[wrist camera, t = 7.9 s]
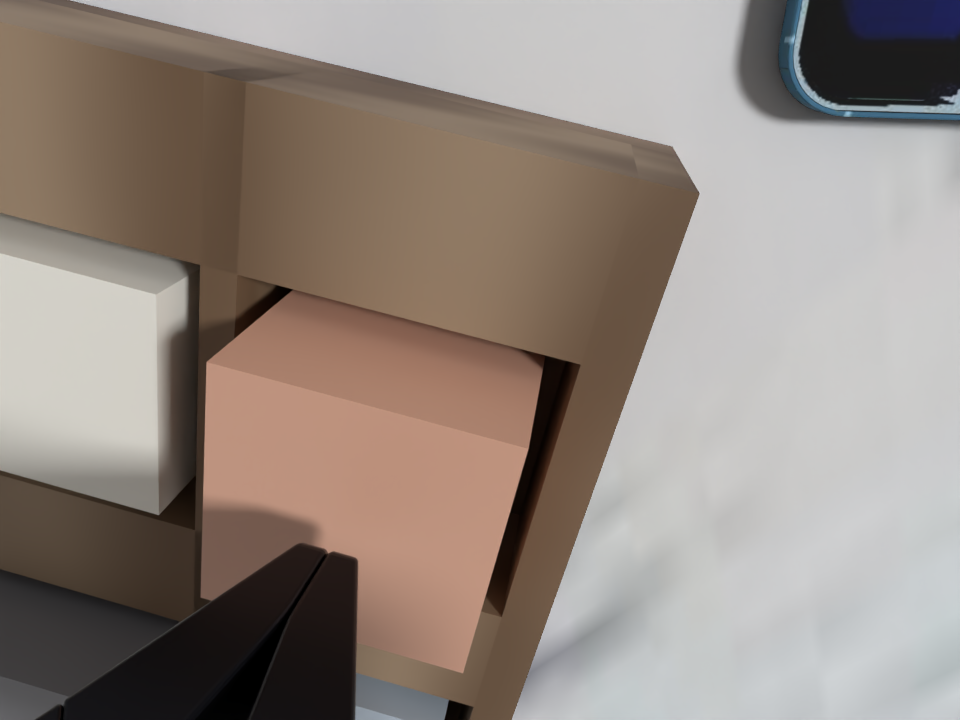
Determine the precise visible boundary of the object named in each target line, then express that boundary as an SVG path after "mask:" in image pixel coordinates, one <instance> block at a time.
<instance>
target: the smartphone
mask: <svg viewBox="0 0 960 720" xmlns="http://www.w3.org/2000/svg"><path fill="white" fill-rule="evenodd" d="M778 58H779V69H780V72H781V76H782V79H783V81H784V83H785V85H786V88H787V89H788V90H789V92H790V93H791V94H792V96H793V97H794V98H795V99H797V100H798V101H799V102H800V103H801V104H803V105H805V106H807V107H808V108H810V109H813V110H816V111H819V112H823V113H826V114H830V115H835V116H843V117H874V118H905V119H937V120H960V0H787V5H786V11H785V16H784V22H783V27H782V33H781V38H780V44H779V54H778Z"/></svg>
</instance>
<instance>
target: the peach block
mask: <svg viewBox="0 0 960 720" xmlns="http://www.w3.org/2000/svg"><path fill="white" fill-rule="evenodd" d="M544 360H545V355H542V354H538V353H534V352H531V351H527V350H523V349H519V348H515V347H511V346H508V345H504V344H500V343H496V342H492V341H489V340H485V339H481V338H477V337H473V336H469V335H466V334H462V333H458V332H454V331H450V330H447V329H443V328H439V327H435V326H431V325H427V324H424V323H420V322H416V321H412V320H408V319H405V318H401V317H397V316H393V315H389V314H385V313H382V312H378V311H374V310H370V309H366V308H363V307H359V306H355V305H351V304H347V303H343V302H340V301H336V300H332V299H328V298H324V297H320V296H317V295H313V294H309V293H305V292H301V291H298V290H294V289H293V290H292V291H291V292H290V293H289V294H287V295H286V296H285V297H284V298H283V299H281V300H280V301H279V302H278V303H277V304H275V305H274V306H273V307H272V308H271V309H270V310H268V311H267V312H266V313H265V314H264V315H262V316H261V317H260V318H259V319H258V320H256V321H255V322H254V323H253V324H252V325H250V326H249V327H248V328H247V329H246V330H244V331H243V332H242V333H241V334H240V335H238V336H237V337H236V338H235V339H234V340H232V341H231V342H230V343H229V344H228V345H226V346H225V347H224V348H223V349H222V350H220V351H219V352H218V353H217V354H216V355H214V356H213V357H212V358H211V359H210V360H208V361H207V364H206V404H205V443H204V482H203V521H202V561H201V598H204V599H207V600H211V601H212V600H214V599H215V598H217V597H218V596H220V595H221V594H223V593H224V592H226V591H227V590H229V589H230V588H232V587H233V586H235V585H236V584H237V583H239V582H240V581H242V580H243V579H245V578H246V577H248V576H249V575H251V574H252V573H254V572H255V571H257V570H258V569H260V568H261V567H263V566H264V565H266V564H267V563H269V562H270V561H272V560H273V559H275V558H276V557H278V556H279V555H281V554H282V553H284V552H285V551H287V550H288V549H290V548H291V547H293V546H294V545H296V544H298V543H307V544H310V545H314V546H317V547H321V548H324V549H326V550H327V552H328V553H330V552H332V551H335V552H339V553H342V554H346V555H349V556H353V557H355V558H357V560H358V610H357V643H359V644H363V645H366V646H370V647H373V648H377V649H380V650H384V651H387V652H391V653H394V654H398V655H401V656H404V657H408V658H411V659H415V660H418V661H422V662H425V663H429V664H432V665H436V666H439V667H443V668H446V669H450V670H453V671H456V672H460V673H463V672H464V668H465V665H466V661H467V658H468V654H469V651H470V648H471V644H472V641H473V637H474V634H475V630H476V627H477V624H478V620H479V617H480V613H481V610H482V606H483V603H484V600H485V596H486V593H487V589H488V586H489V582H490V579H491V576H492V572H493V569H494V565H495V562H496V558H497V555H498V552H499V548H500V545H501V541H502V538H503V534H504V531H505V528H506V524H507V521H508V517H509V514H510V511H511V507H512V504H513V500H514V497H515V493H516V490H517V487H518V483H519V480H520V476H521V473H522V469H523V466H524V463H525V459H526V456H527V452H528V449H529V443H530V438H531V432H532V427H533V421H534V416H535V410H536V405H537V399H538V394H539V388H540V383H541V377H542V371H543V366H544Z"/></svg>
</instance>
